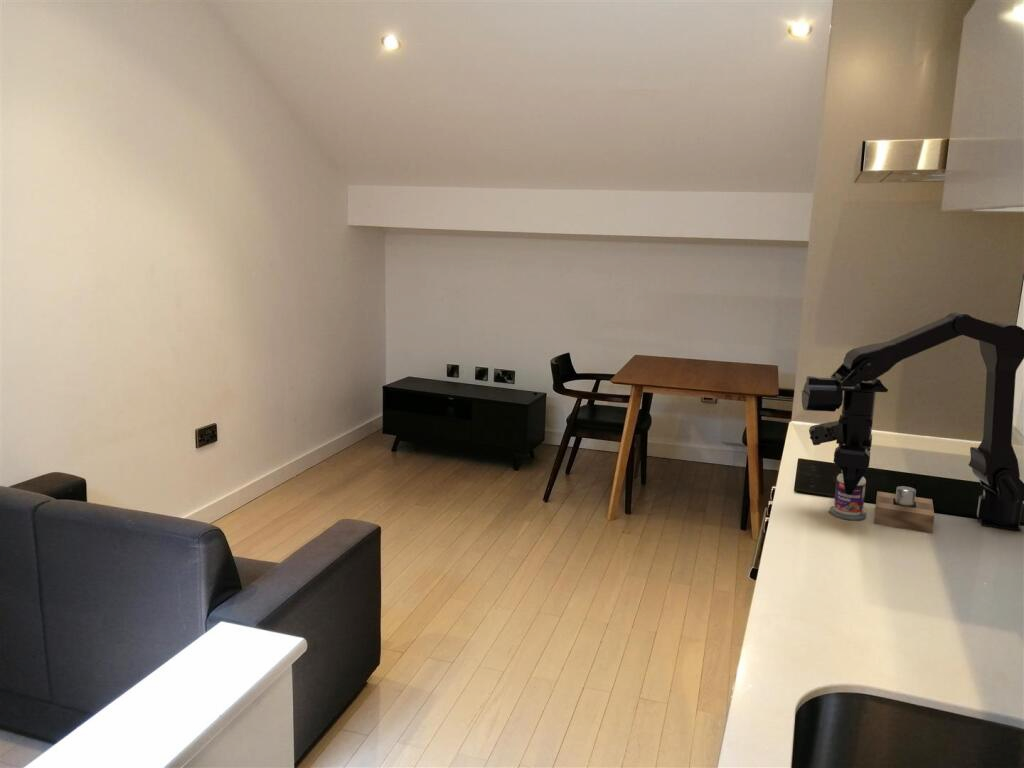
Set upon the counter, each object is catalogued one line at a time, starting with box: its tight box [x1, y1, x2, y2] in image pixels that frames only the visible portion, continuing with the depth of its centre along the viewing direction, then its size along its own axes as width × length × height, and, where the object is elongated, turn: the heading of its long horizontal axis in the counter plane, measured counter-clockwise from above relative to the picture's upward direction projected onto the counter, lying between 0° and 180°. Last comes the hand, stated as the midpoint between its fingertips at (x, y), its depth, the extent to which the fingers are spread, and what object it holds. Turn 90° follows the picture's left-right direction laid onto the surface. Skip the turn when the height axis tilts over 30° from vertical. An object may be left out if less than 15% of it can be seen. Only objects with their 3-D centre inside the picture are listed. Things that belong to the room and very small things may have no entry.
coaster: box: [828, 505, 867, 522], centre depth 150 cm, size 7×7×1 cm
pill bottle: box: [833, 469, 867, 516], centre depth 149 cm, size 5×5×10 cm
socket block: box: [873, 490, 935, 534], centre depth 147 cm, size 10×10×4 cm
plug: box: [895, 485, 917, 508], centre depth 146 cm, size 3×3×6 cm
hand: (849, 487), depth 149 cm, fingers open, 9 cm apart
